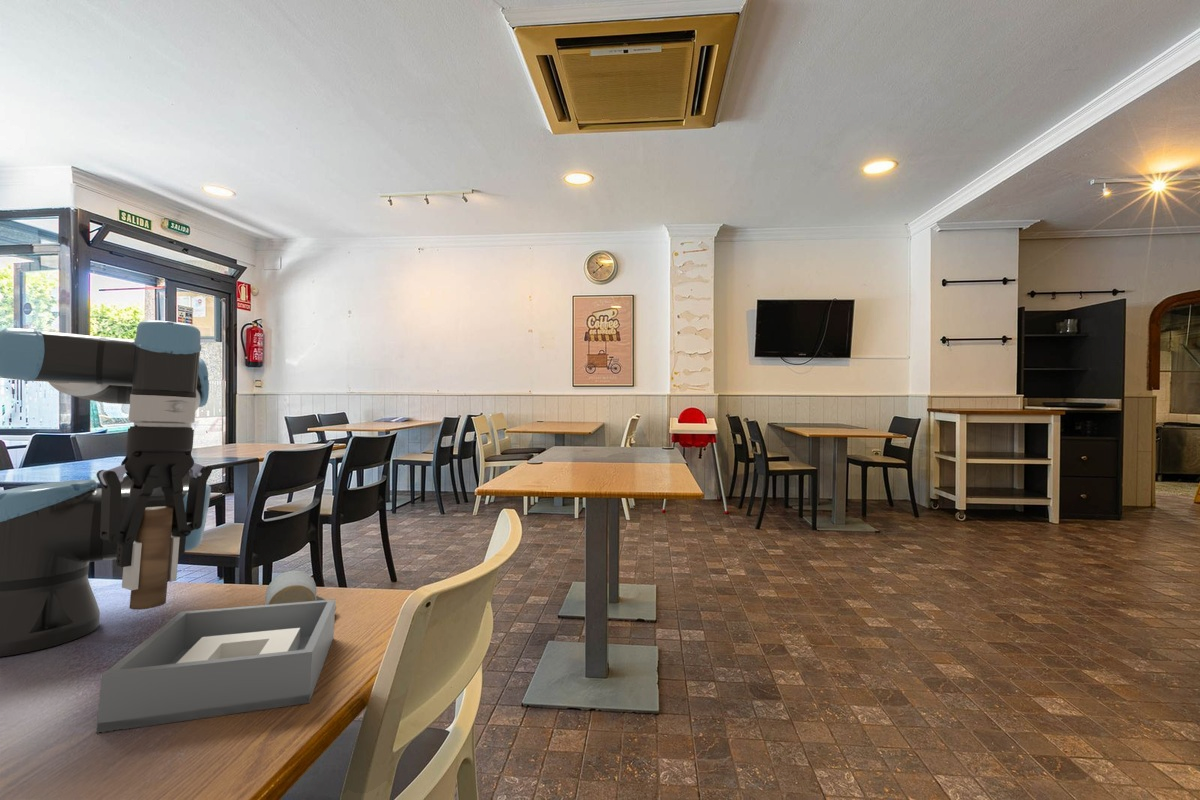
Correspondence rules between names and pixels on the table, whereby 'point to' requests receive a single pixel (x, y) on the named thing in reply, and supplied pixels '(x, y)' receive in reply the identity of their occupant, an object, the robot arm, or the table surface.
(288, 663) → the grey box
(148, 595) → the walnut peg
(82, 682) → the table surface
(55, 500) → the robot arm
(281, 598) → the ceramic mug
